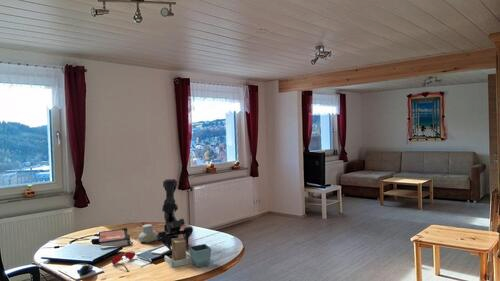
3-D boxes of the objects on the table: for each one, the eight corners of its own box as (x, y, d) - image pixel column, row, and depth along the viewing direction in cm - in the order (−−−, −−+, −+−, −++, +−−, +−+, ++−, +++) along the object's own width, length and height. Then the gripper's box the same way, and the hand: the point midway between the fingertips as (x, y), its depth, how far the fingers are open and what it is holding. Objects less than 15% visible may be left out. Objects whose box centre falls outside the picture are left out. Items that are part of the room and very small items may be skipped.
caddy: (172, 259, 200) (171, 238, 199) (181, 257, 202) (180, 237, 202) (176, 263, 193) (175, 242, 193) (186, 261, 196) (185, 240, 196)
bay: (164, 260, 199) (164, 255, 199) (186, 255, 205) (186, 251, 205) (172, 267, 189) (172, 262, 189) (194, 262, 195) (194, 257, 195)
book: (99, 238, 247) (98, 231, 247) (127, 235, 253) (126, 227, 253) (99, 250, 223) (98, 241, 222) (130, 245, 229) (129, 237, 229)
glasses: (134, 258, 206) (134, 249, 206) (152, 264, 195) (152, 255, 195) (110, 266, 195) (110, 256, 195) (128, 273, 185) (127, 262, 184)
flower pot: (195, 269, 185) (194, 251, 185) (189, 264, 193) (188, 246, 192) (212, 265, 189) (211, 248, 189) (205, 260, 197) (205, 243, 197)
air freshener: (140, 244, 229) (139, 228, 229) (138, 241, 237) (137, 225, 237) (158, 241, 234) (157, 225, 234) (155, 238, 241) (155, 222, 241)
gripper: (157, 216, 196) (164, 243, 187) (191, 211, 205) (199, 236, 196) (153, 228, 203) (160, 254, 194) (186, 223, 212) (194, 247, 203)
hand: (179, 248), depth 197 cm, fingers open, 9 cm apart
